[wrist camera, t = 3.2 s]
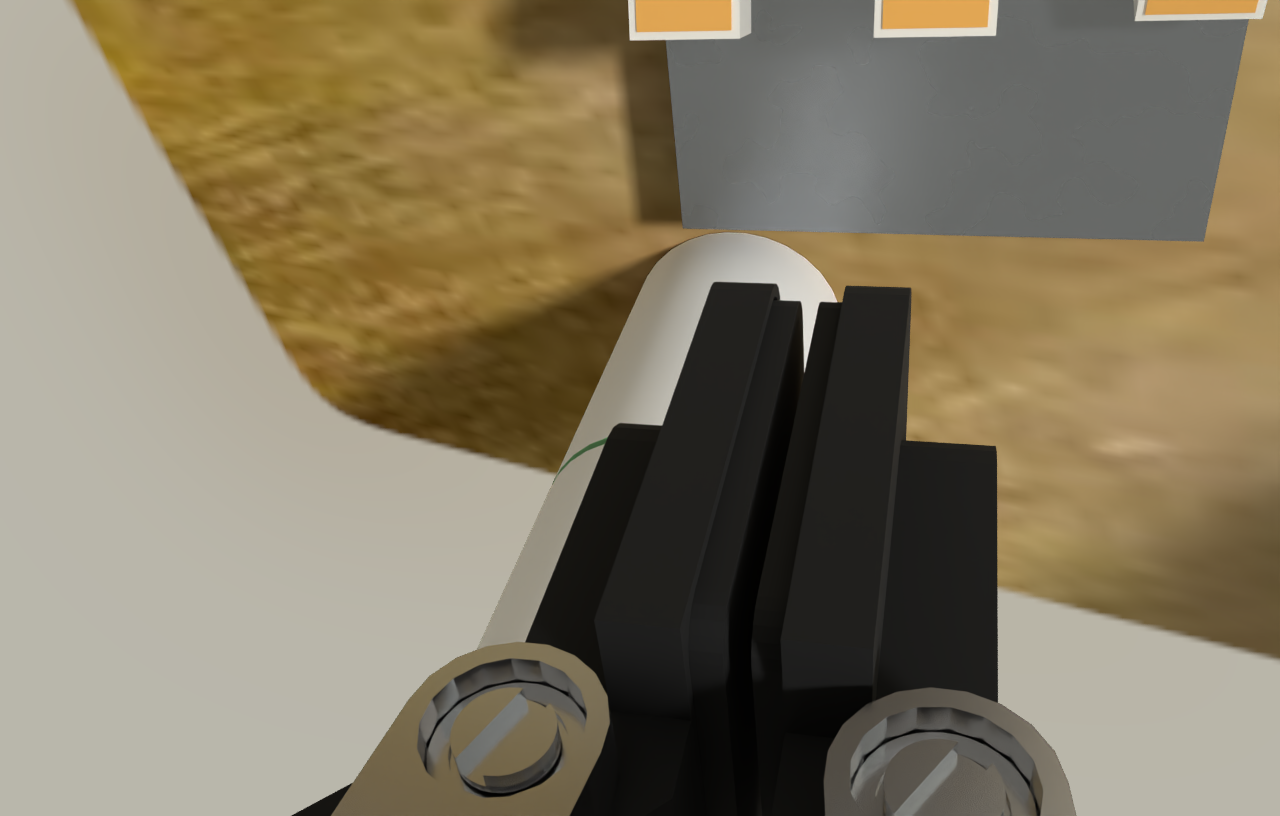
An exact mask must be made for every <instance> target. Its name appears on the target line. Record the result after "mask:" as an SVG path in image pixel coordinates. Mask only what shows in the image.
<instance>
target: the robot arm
mask: <svg viewBox="0 0 1280 816" xmlns="http://www.w3.org/2000/svg"><path fill="white" fill-rule="evenodd" d="M910 320H911V288H903V287H871V286H846V287H845V292H844V296H843V302H820V303H819V306H818V311H817V316H816V320H815V325H814V330H813V334H812V339H811V344H810V349H809V353H808V358H807V363H806V368H805V372H804V342H803V311H802V304H801V301H785V300H780V293H779V287H778V285H777V284H774V283H742V282H714V283H713V284H712V286H711V288H710V290H709V293H708V296H707V299H706V302H705V305H704V307H703V310H702V313H701V316H700V319H699V322H698V325H697V327H696V330H695V333H694V336H693V339H692V342H691V345H690V347H689V350H688V353H687V356H686V359H685V362H684V365H683V367H682V370H681V373H680V376H679V379H678V382H677V385H676V387H675V390H674V393H673V396H672V399H671V402H670V405H669V407H668V410H667V413H666V416H665V419H664V422H663V425H646V424H630V423H618V424H617V425H616V426H614V427H613V428H612V430H611V432H610V434H609V436H608V438H607V440H606V442H605V445H604V447H603V450H602V452H601V455H600V457H599V460H598V462H597V465H596V467H595V470H594V472H593V475H592V477H591V479H590V482H589V484H588V487H587V489H586V492H585V494H584V497H583V499H582V502H581V504H580V507H579V509H578V512H577V514H576V517H575V519H574V522H573V524H572V527H571V529H570V532H569V534H568V537H567V539H566V542H565V544H564V546H563V549H562V551H561V554H560V556H559V559H558V561H557V564H556V566H555V569H554V571H553V574H552V576H551V579H550V581H549V584H548V586H547V589H546V591H545V594H544V596H543V599H542V601H541V604H540V606H539V609H538V611H537V613H536V616H535V618H534V621H533V623H532V626H531V628H530V631H529V633H528V636H527V638H526V641H525V642H513V643H505V644H498V645H491V646H486V647H483V648H481V649H478V650H475V651H473V652H470V653H467V654H465V655H462V656H460V657H457V658H455V659H454V660H452V661H451V662H449V663H448V664H447V665H445V666H443V667H442V668H440V669H439V670H438V671H436V672H435V673H433V674H432V675H430V676H429V677H428V678H427V679H426V681H425V682H424V683H423V684H422V685H421V686H420V687H419V689H418V690H417V691H416V692H415V693H414V694H413V695H412V697H410V699H409V700H408V702H407V703H406V704H405V706H404V707H403V709H402V710H401V712H400V713H399V715H398V716H397V718H396V719H395V721H394V722H393V724H392V725H391V727H390V728H389V730H388V731H387V733H386V734H385V736H384V737H383V739H382V740H381V742H380V743H379V745H378V746H377V748H376V749H375V751H374V752H373V754H372V755H371V757H370V758H369V760H368V761H367V763H366V764H365V766H364V767H363V769H362V770H361V772H360V773H359V775H358V776H357V778H356V779H355V781H354V782H353V783H351V784H350V785H348V786H346V787H344V788H342V789H340V790H338V791H337V792H335V793H333V794H331V795H329V796H327V797H325V798H323V799H322V800H320V801H318V802H316V803H314V804H312V805H311V806H309V807H307V808H305V809H303V810H301V811H299V812H297V813H296V814H294V815H292V816H1076V812H1075V808H1074V804H1073V800H1072V795H1071V791H1070V787H1069V783H1068V781H1067V778H1066V776H1065V774H1064V771H1063V769H1062V767H1061V764H1060V762H1059V760H1058V758H1057V755H1056V753H1055V751H1054V750H1053V749H1052V748H1051V746H1050V745H1049V744H1048V743H1047V742H1046V741H1045V739H1044V738H1043V737H1042V736H1041V735H1040V734H1039V732H1038V731H1037V730H1036V729H1035V728H1034V727H1033V726H1032V725H1031V724H1030V723H1028V722H1027V721H1025V720H1024V719H1023V718H1021V717H1020V716H1018V715H1017V714H1015V713H1014V712H1012V711H1011V710H1009V709H1007V708H1006V707H1005V706H1003V705H1002V704H999V703H998V663H997V662H998V650H997V649H998V648H997V647H998V639H997V638H998V637H997V636H998V634H997V632H998V629H997V451H996V446H985V445H968V444H952V443H936V442H920V441H906V424H907V398H908V372H909V346H910Z"/></svg>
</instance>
